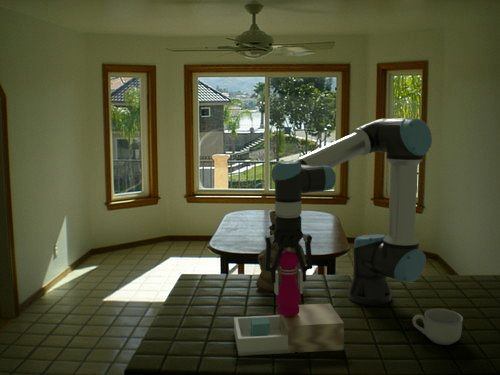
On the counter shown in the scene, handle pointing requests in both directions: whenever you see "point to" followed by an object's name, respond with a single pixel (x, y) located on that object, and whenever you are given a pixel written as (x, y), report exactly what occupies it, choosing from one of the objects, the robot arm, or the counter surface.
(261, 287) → the ceramic vessel
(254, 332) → the tile
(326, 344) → the light wood block
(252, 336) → the tile
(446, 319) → the teacup
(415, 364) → the counter surface
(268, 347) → the tray
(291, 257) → the pepper mill
